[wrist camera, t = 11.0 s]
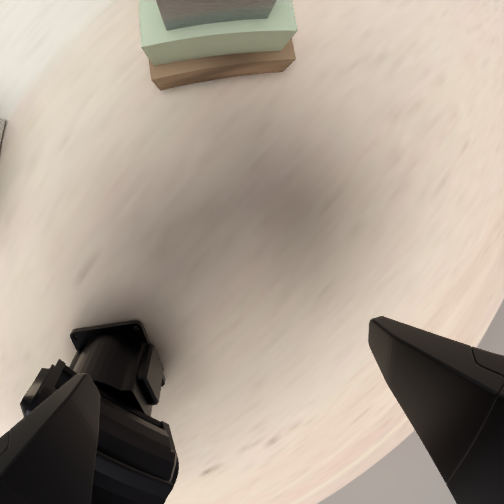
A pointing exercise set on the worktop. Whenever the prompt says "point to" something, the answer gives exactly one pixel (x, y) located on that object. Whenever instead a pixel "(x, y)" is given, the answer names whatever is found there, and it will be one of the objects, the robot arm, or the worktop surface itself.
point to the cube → (211, 11)
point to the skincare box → (1, 128)
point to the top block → (214, 35)
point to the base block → (220, 67)
